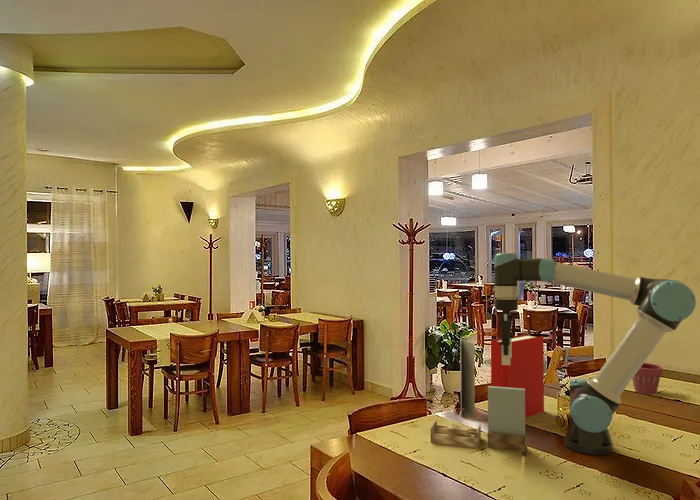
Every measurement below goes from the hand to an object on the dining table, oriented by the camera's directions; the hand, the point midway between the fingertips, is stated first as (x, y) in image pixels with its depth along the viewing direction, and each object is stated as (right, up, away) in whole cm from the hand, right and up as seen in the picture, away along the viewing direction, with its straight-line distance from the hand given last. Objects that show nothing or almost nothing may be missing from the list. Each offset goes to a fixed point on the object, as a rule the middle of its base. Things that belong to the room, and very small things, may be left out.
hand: (507, 361), depth 177 cm
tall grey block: (-4, -31, +43) cm, 53 cm away
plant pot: (+90, -31, +75) cm, 121 cm away
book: (+16, -31, +39) cm, 52 cm away
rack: (-16, -30, +5) cm, 35 cm away
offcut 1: (-16, -26, +3) cm, 31 cm away
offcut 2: (-15, -29, +3) cm, 33 cm away
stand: (0, -30, 0) cm, 30 cm away
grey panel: (0, -29, 0) cm, 29 cm away
